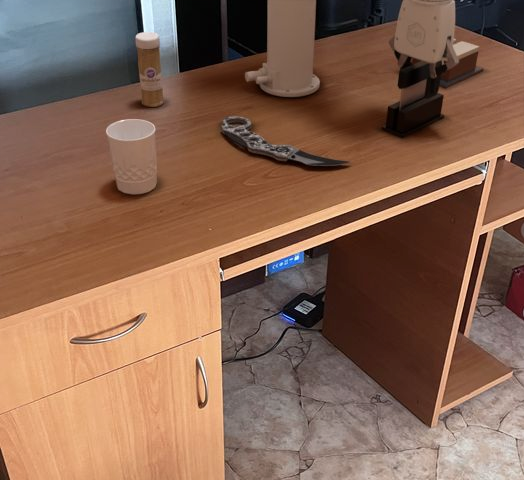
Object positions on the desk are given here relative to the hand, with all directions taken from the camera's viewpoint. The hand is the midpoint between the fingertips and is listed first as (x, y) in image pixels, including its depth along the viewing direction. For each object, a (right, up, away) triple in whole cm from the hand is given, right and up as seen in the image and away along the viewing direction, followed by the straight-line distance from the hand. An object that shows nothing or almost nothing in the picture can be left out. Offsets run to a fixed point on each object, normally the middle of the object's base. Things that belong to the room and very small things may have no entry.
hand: (417, 90), depth 147 cm
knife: (-27, -12, -4) cm, 30 cm away
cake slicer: (0, -4, +4) cm, 6 cm away
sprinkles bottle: (-51, +1, +11) cm, 52 cm away
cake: (+10, +12, +24) cm, 29 cm away
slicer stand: (0, -5, +4) cm, 6 cm away
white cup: (-50, -21, -15) cm, 56 cm away
